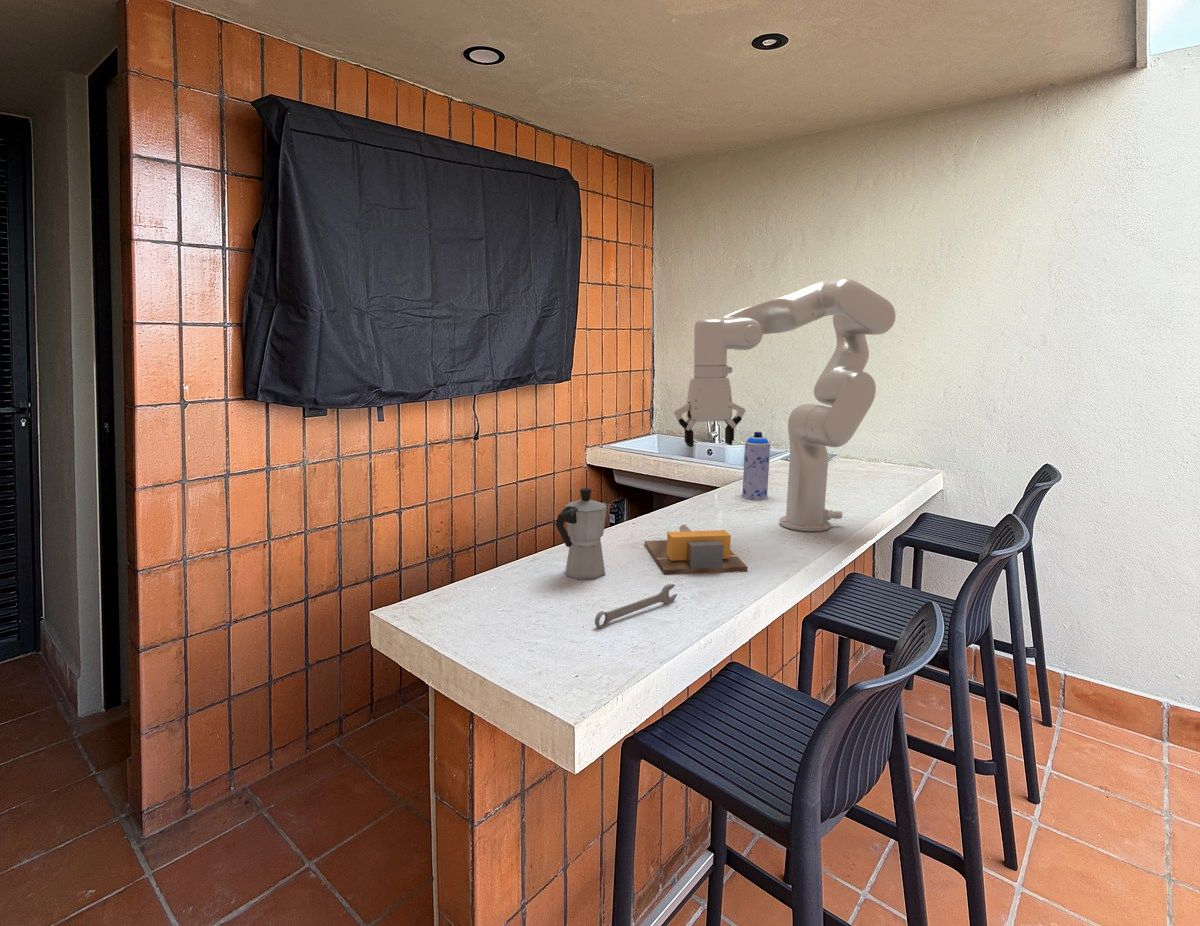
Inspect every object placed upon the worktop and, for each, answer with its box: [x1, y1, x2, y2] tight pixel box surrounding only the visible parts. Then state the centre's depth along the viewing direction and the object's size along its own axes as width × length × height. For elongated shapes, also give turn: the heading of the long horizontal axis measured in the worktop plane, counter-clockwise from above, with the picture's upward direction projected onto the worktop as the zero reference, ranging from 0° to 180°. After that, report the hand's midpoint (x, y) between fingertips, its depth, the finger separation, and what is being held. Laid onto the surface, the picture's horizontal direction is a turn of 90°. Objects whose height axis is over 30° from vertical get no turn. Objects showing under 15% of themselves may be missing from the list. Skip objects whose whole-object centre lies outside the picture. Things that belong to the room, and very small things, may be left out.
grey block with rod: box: [678, 524, 724, 569], centre depth 155 cm, size 7×19×5 cm, turn 8°
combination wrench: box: [594, 583, 678, 629], centre depth 124 cm, size 4×1×20 cm
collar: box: [666, 529, 732, 561], centre depth 151 cm, size 13×4×5 cm, turn 98°
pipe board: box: [644, 539, 749, 575], centre depth 156 cm, size 18×20×1 cm
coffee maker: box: [555, 487, 608, 581], centre depth 143 cm, size 15×9×18 cm, turn 141°
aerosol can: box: [741, 431, 771, 501], centre depth 210 cm, size 8×8×20 cm
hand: (709, 445), depth 166 cm, fingers open, 9 cm apart
